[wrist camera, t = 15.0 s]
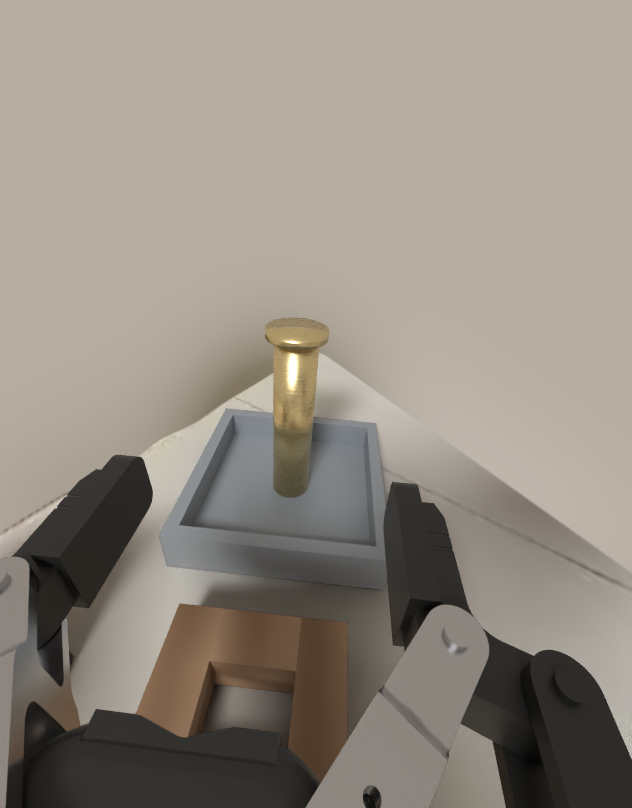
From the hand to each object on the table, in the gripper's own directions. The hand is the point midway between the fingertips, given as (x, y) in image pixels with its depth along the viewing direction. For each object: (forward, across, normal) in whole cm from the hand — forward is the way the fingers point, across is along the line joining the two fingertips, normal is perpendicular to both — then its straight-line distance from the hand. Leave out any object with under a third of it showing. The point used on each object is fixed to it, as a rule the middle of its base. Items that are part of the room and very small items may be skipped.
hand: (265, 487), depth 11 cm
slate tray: (+14, +1, +16) cm, 22 cm away
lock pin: (+15, +1, +16) cm, 22 cm away
